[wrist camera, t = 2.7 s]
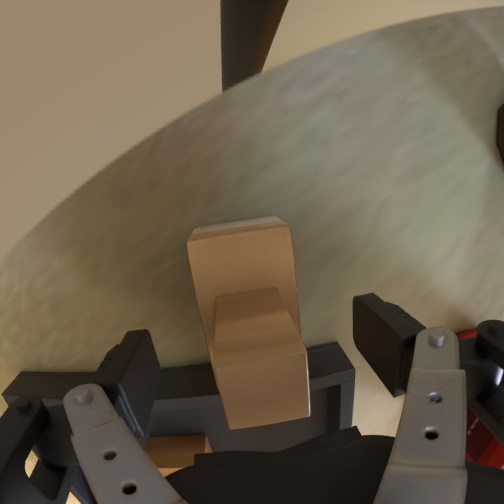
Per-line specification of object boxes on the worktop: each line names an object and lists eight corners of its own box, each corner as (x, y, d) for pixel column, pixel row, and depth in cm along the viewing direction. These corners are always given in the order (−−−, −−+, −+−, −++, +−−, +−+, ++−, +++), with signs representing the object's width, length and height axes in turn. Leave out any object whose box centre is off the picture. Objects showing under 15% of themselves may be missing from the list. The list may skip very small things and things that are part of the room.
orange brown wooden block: (148, 436, 17) (141, 467, 14) (206, 433, 18) (204, 467, 15) (166, 469, 18) (162, 499, 15) (218, 467, 19) (219, 498, 16)
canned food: (475, 392, 20) (544, 461, 10) (405, 420, 20) (471, 517, 9) (497, 316, 18) (592, 378, 8) (424, 339, 18) (530, 438, 7)
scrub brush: (194, 227, 15) (158, 285, 7) (275, 214, 15) (334, 257, 7) (218, 351, 17) (218, 475, 8) (289, 340, 17) (335, 454, 9)
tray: (20, 371, 16) (1, 393, 13) (337, 340, 17) (355, 368, 14) (98, 491, 20) (91, 514, 17) (333, 477, 21) (342, 502, 18)
